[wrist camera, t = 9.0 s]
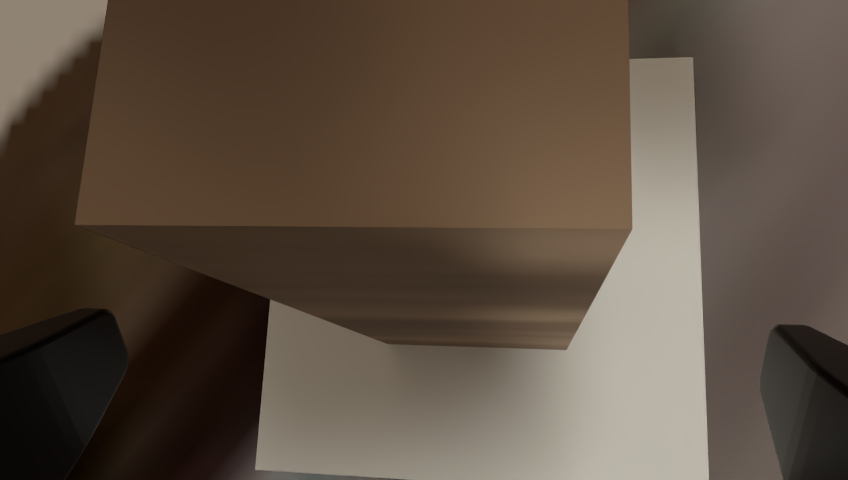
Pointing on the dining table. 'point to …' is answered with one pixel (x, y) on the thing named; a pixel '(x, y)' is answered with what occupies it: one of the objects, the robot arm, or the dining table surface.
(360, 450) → the felt coaster
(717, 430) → the dining table surface
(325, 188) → the walnut block
